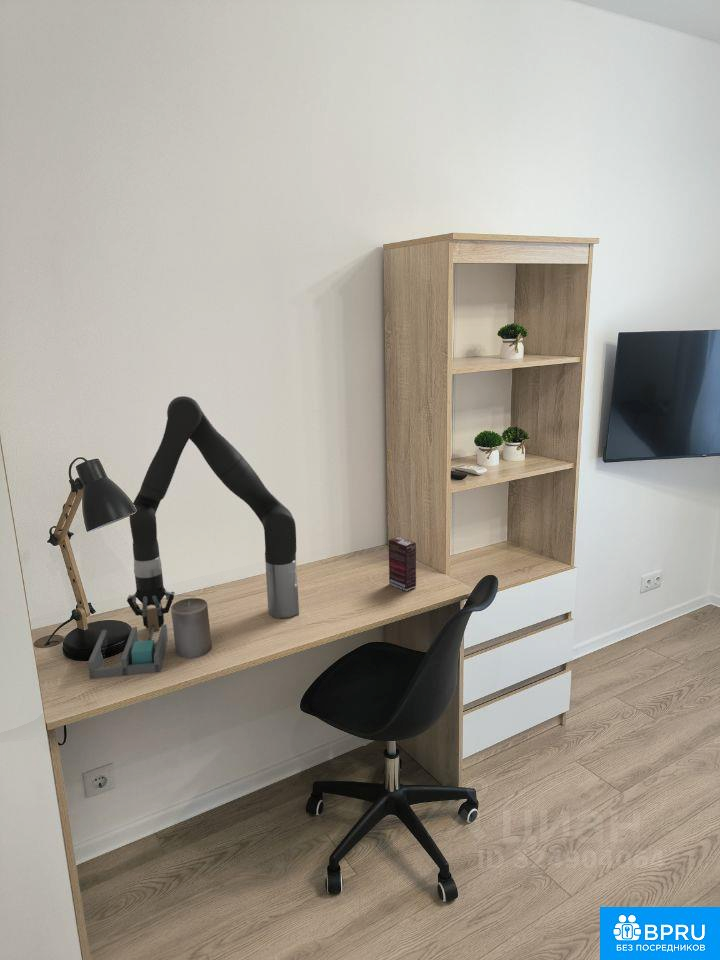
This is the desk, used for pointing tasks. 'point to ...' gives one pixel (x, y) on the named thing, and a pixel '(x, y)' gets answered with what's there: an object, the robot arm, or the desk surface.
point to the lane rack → (127, 657)
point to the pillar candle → (191, 628)
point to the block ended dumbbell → (146, 649)
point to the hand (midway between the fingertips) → (154, 626)
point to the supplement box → (402, 563)
